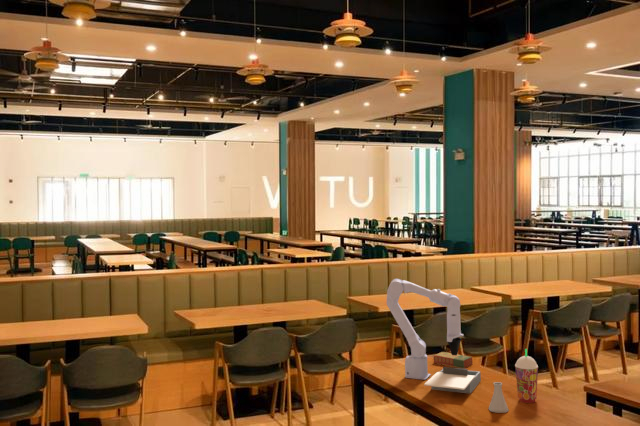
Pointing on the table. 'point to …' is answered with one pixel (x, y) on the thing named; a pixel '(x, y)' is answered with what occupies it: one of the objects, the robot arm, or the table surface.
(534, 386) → the smoothie
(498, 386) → the flask
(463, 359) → the carton
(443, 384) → the lid
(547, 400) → the table surface
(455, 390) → the box
